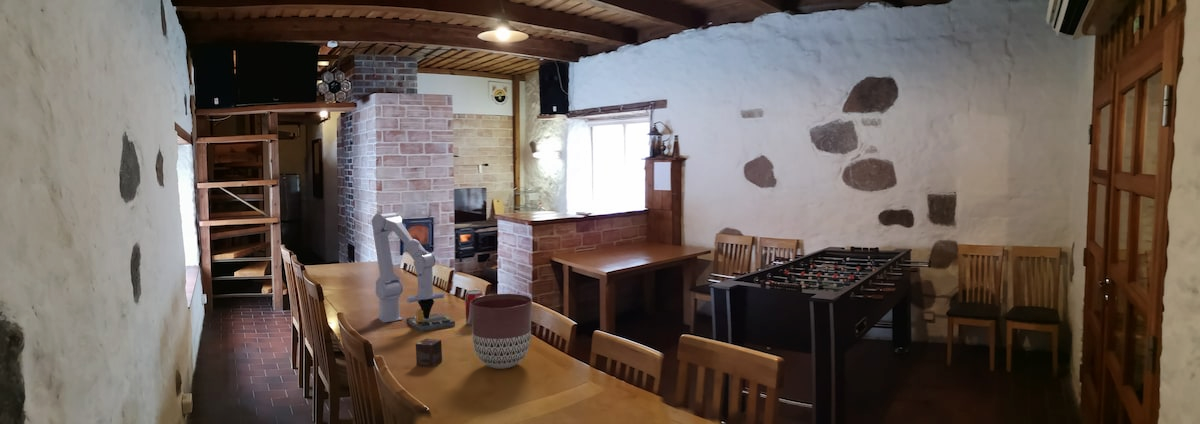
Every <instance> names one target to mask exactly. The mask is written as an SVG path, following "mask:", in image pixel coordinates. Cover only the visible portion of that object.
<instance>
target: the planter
mask: <svg viewBox="0 0 1200 424" xmlns="http://www.w3.org/2000/svg"><path fill="white" fill-rule="evenodd" d="M532 311H533V299H532V298H531V297H530V296H527V295H523V294H517V293H497V294H496V293H495V294H494V293H493V294H487V295H483V296H481V297H477V298H475V299H473V300H471V301H470V312H471V324H472V325H471V333H472V344H473V348H474V352H475V354H476V356H477V357H478V359H479V360H480V361H481V362H482V363H484V364H485V366H487V367H489V368H493V369H497V370H502V369H503V370H504V369H505V370H506V369H509V368H512V367H515V366H516V365H518V364H519V363H520V362H521V361H522V360H523V359H524V358H525V357H526V355H527V353H528V351H529V348H530V345H531V337H532V335H531V334H532V332H531V331H532V314H533V313H532Z"/></svg>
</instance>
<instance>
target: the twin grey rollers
mask: <svg viewBox="0 0 1200 424" xmlns="http://www.w3.org/2000/svg"><path fill="white" fill-rule="evenodd" d="M431 315H438V313H434V314H433V313H432V314H429V316H431ZM423 317H424V315H423ZM412 318H416V315H415V316H413V317H407V318H406V322H407V323H409V322H408V319H412Z"/></svg>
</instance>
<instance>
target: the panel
mask: <svg viewBox="0 0 1200 424" xmlns="http://www.w3.org/2000/svg"><path fill="white" fill-rule="evenodd" d="M430 315H431V316H429V319H425V318H424V317H423V322H417V321H416V318H413V317H411V318H412V319H408V322H407V323H408V325H409V326H411V327H412V328H413V329H415V330H417V331H418V332H419V333H422V332H429V331H434V330H441V329H442V330H443V329H447V328H454V327H455V326H456V321H455V320H453V319H452V318H451V317H449V316H446V315H445V314H443V313H439V314H438V313H437V315H432V314H430Z"/></svg>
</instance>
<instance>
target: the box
mask: <svg viewBox="0 0 1200 424" xmlns="http://www.w3.org/2000/svg"><path fill="white" fill-rule="evenodd" d="M415 354H416V356H415V359H416V366H419V367H430V368H433V367H436V366H437V365H438V364H440V363H442V362H443V348H442V339H436V338H435V339H433V338H425V339H422V340H420V341H419V342H417V343H415Z"/></svg>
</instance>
